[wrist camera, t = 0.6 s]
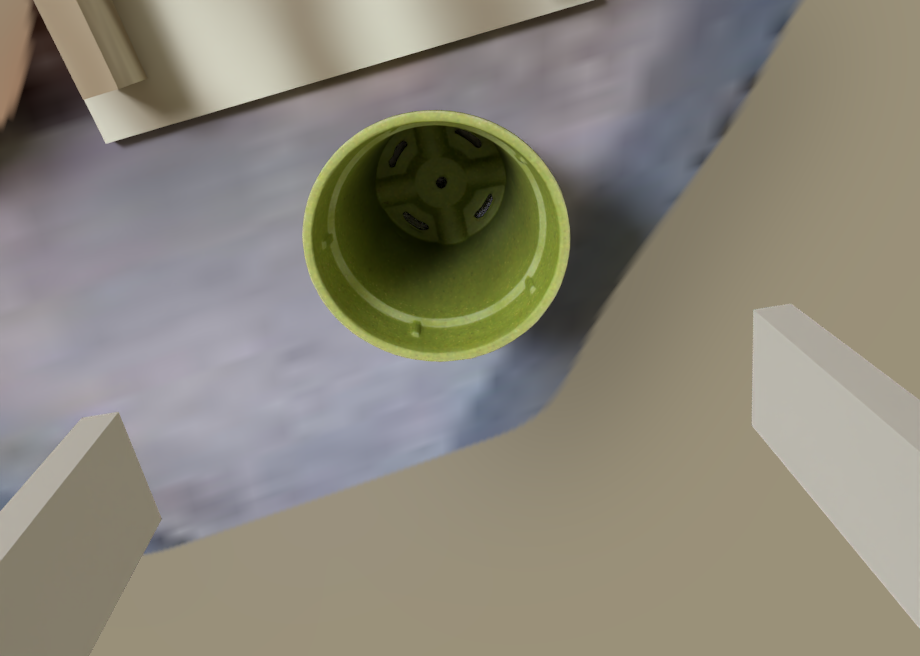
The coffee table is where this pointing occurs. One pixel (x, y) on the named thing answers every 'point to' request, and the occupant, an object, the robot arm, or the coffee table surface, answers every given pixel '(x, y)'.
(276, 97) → the coffee table surface
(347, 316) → the plant pot
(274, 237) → the coffee table surface
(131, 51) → the beige rectangular tray
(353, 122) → the coffee table surface
